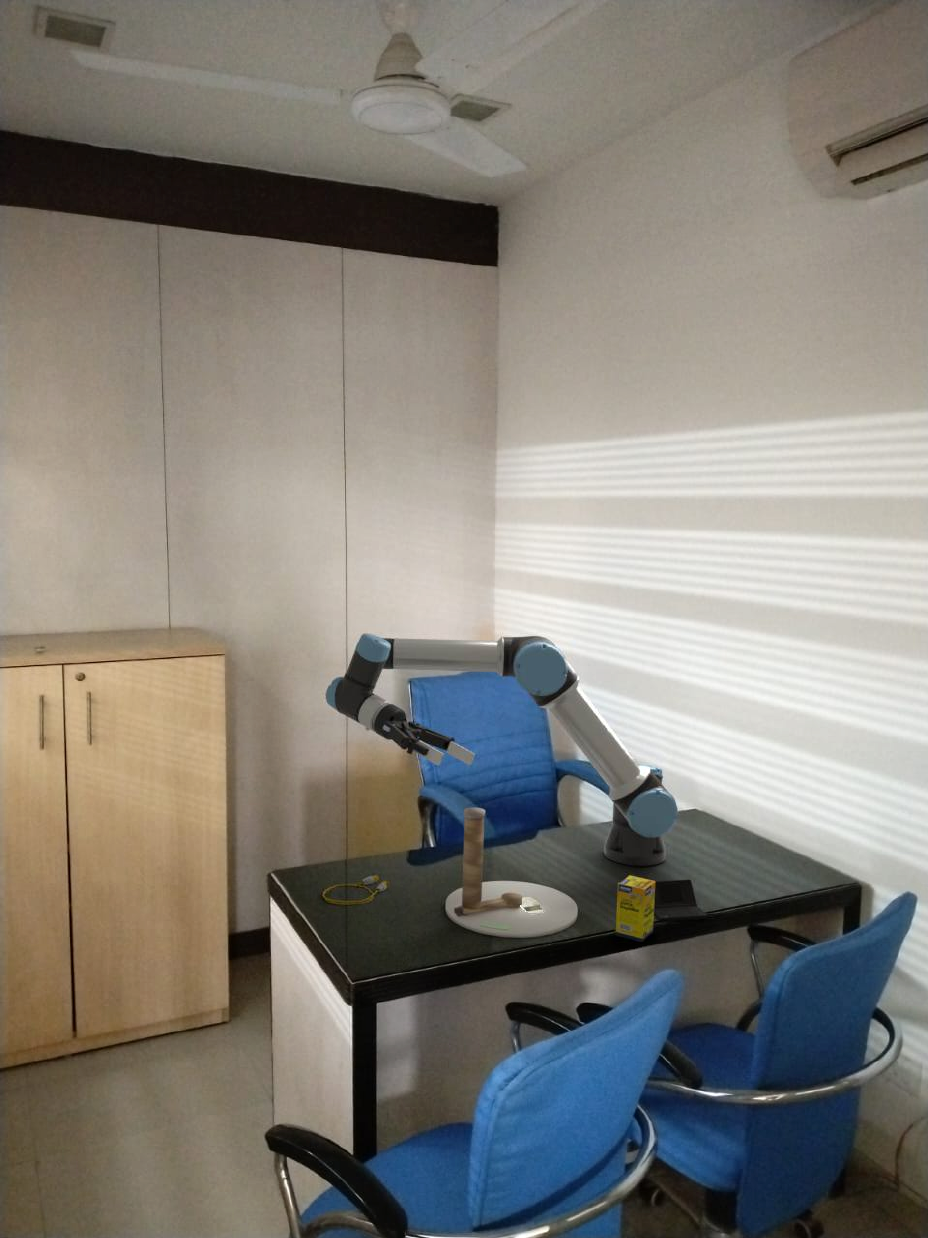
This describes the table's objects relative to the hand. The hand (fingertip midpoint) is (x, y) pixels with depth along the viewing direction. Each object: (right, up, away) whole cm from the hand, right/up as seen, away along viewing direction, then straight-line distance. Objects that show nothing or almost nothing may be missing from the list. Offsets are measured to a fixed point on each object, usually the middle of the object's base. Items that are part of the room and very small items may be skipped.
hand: (457, 759), depth 216 cm
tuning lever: (+7, -30, -6) cm, 31 cm away
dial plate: (+12, -32, -3) cm, 34 cm away
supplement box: (+36, -34, -13) cm, 51 cm away
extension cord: (-22, -31, +4) cm, 38 cm away
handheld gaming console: (+47, -33, -1) cm, 57 cm away
